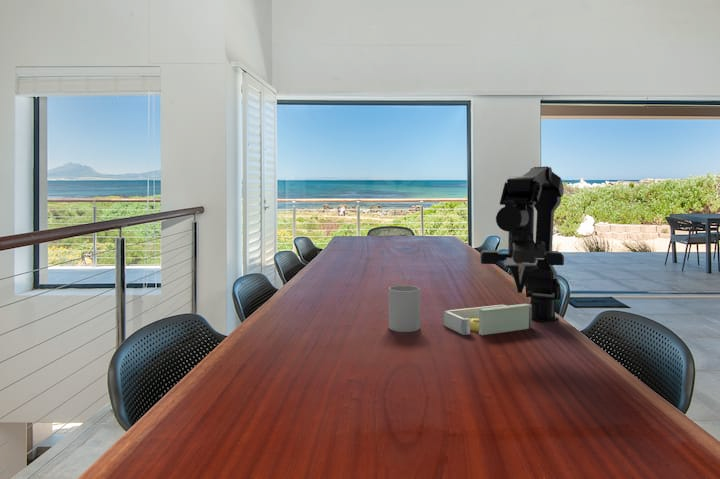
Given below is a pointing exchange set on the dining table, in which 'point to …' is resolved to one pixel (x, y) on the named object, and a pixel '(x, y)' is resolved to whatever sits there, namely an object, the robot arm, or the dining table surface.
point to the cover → (503, 319)
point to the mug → (404, 308)
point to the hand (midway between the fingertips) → (519, 292)
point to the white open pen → (467, 318)
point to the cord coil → (474, 324)
